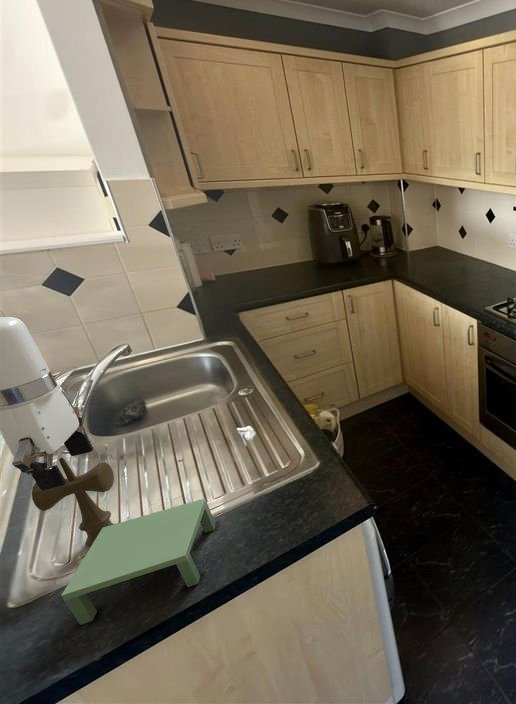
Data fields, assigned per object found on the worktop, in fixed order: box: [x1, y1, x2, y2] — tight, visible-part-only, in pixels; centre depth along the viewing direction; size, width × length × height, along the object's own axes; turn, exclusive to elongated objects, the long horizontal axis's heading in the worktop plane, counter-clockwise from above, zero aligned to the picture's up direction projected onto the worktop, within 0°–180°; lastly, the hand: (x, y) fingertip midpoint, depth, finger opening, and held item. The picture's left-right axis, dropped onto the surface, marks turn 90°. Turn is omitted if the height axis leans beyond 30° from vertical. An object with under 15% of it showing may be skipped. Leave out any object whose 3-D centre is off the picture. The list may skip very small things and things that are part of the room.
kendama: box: [31, 457, 115, 548], centre depth 77 cm, size 6×10×20 cm, turn 118°
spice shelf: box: [60, 498, 217, 626], centre depth 73 cm, size 16×14×7 cm
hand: (69, 469), depth 75 cm, fingers open, 9 cm apart
